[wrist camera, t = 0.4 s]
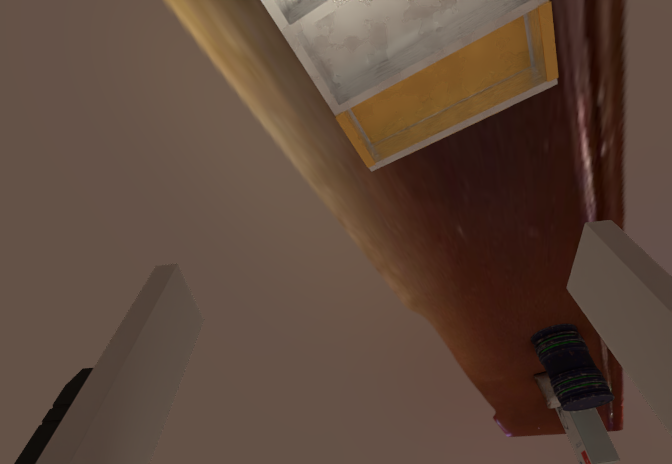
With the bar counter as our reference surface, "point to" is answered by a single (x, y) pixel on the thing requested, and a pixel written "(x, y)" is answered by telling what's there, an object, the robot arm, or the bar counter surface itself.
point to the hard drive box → (588, 436)
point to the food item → (547, 390)
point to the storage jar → (571, 368)
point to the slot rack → (418, 64)
